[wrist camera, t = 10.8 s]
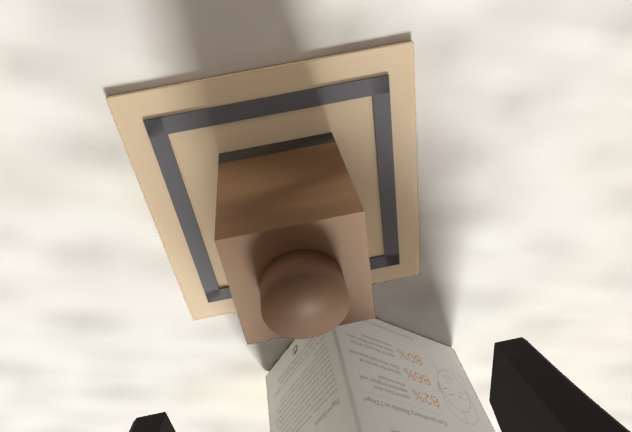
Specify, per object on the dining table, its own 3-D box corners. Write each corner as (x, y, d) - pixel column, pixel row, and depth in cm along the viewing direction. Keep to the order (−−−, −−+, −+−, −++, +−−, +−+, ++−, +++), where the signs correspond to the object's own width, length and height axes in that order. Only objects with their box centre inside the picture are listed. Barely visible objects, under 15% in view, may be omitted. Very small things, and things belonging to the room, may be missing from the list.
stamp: (331, 132, 17) (373, 233, 12) (343, 224, 20) (383, 342, 14) (218, 153, 17) (213, 264, 12) (244, 244, 19) (248, 370, 14)
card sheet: (411, 40, 16) (414, 43, 16) (418, 271, 22) (420, 276, 22) (106, 96, 16) (104, 99, 16) (193, 317, 21) (192, 322, 21)
